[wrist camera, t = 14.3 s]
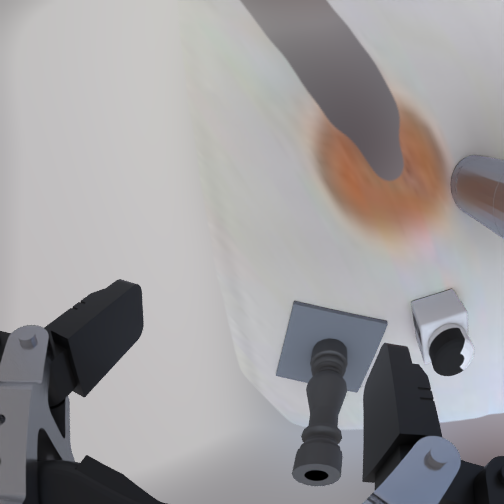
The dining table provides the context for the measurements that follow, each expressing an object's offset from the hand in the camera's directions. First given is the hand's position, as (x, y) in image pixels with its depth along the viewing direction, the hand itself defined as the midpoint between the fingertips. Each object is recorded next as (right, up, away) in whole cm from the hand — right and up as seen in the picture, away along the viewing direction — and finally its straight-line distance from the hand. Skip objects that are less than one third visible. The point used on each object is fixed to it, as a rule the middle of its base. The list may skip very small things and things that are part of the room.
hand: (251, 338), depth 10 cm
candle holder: (+13, -15, +43) cm, 47 cm away
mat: (+13, -14, +43) cm, 48 cm away
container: (+30, -8, +37) cm, 48 cm away
